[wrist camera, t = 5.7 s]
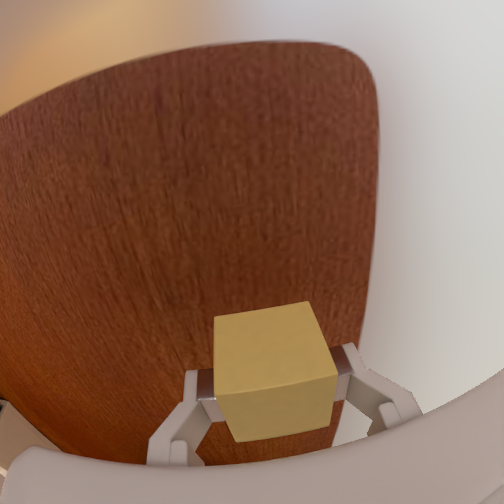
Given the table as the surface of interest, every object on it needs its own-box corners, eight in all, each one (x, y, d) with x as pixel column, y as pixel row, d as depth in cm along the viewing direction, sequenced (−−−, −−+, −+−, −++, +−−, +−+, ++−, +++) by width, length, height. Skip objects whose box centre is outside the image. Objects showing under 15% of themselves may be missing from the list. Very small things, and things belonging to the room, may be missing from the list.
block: (213, 316, 12) (213, 395, 8) (308, 300, 12) (338, 372, 8) (230, 374, 13) (235, 442, 10) (308, 360, 14) (329, 426, 10)
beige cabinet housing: (-30, 389, 22) (-50, 432, 13) (8, 401, 22) (-13, 456, 13) (21, 440, 29) (9, 480, 20) (66, 453, 29) (55, 500, 20)
